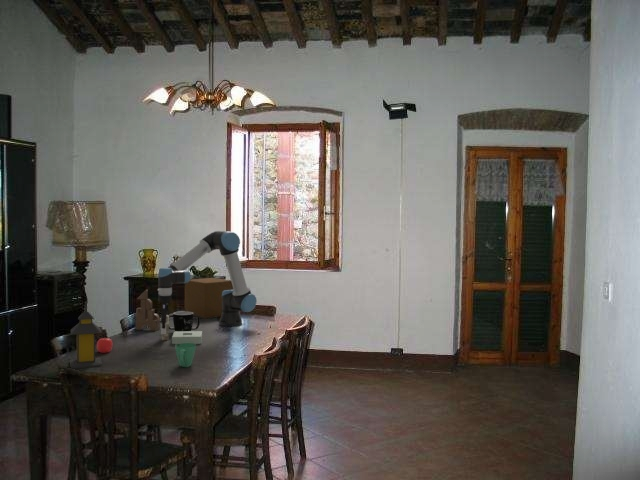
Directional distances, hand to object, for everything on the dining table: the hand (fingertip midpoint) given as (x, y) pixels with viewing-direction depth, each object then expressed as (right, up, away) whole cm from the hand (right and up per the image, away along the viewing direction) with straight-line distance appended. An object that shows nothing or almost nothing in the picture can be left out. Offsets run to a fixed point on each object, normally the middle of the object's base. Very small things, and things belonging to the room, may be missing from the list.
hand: (164, 331), depth 347 cm
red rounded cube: (-23, -6, -32) cm, 40 cm away
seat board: (+13, -5, -2) cm, 14 cm away
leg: (0, -5, 0) cm, 5 cm away
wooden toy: (-19, -3, +31) cm, 36 cm away
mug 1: (+5, -4, +22) cm, 23 cm away
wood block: (+9, -1, +89) cm, 89 cm away
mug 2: (+25, -8, -60) cm, 65 cm away
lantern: (-23, -7, -57) cm, 62 cm away
